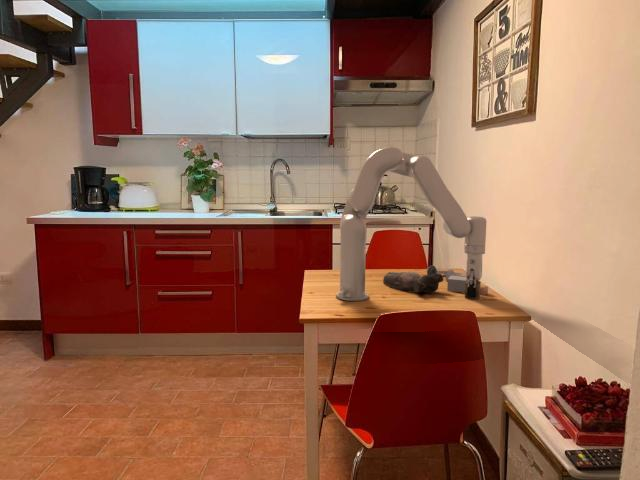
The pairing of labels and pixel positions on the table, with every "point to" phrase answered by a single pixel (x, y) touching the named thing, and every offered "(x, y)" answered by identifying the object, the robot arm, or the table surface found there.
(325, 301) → the table surface
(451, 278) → the grey block
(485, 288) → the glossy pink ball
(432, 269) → the headphones
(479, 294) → the brown metal block
